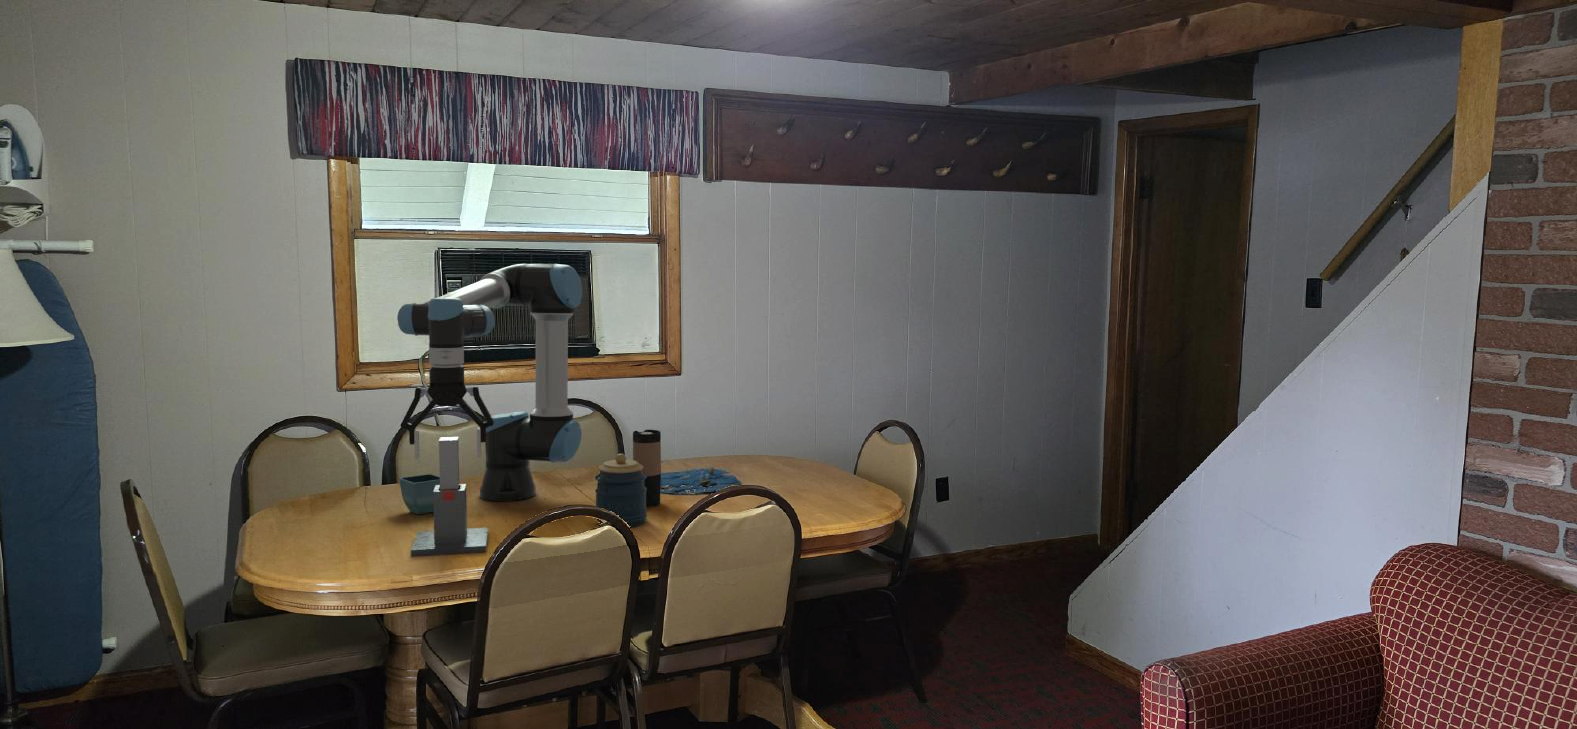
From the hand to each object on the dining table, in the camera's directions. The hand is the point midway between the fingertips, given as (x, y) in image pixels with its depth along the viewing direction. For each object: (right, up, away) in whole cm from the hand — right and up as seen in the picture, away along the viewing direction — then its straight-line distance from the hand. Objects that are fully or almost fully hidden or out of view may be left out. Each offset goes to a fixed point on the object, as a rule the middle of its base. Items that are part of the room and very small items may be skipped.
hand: (448, 457), depth 234 cm
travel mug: (+40, -17, +43) cm, 61 cm away
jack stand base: (0, -21, +2) cm, 21 cm away
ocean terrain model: (+50, -15, +68) cm, 86 cm away
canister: (+36, -19, +24) cm, 47 cm away
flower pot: (-17, -17, +32) cm, 40 cm away
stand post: (0, -19, +2) cm, 19 cm away
